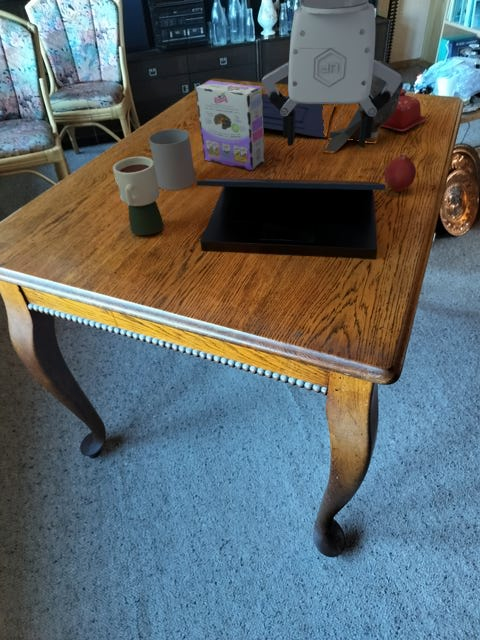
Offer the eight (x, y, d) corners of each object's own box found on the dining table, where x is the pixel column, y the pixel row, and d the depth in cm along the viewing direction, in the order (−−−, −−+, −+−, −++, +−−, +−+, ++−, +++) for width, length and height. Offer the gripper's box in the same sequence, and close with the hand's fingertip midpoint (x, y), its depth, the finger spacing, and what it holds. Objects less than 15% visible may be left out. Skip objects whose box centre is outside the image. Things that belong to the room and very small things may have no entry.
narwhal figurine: (389, 158, 106) (403, 71, 93) (322, 152, 110) (327, 68, 98) (395, 133, 115) (409, 52, 103) (334, 129, 120) (339, 51, 107)
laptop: (375, 259, 78) (377, 248, 76) (201, 250, 83) (200, 240, 81) (372, 195, 94) (373, 185, 92) (225, 191, 99) (224, 182, 97)
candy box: (265, 161, 108) (263, 85, 97) (252, 171, 105) (248, 94, 94) (217, 151, 114) (210, 78, 103) (203, 160, 111) (194, 86, 100)
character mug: (138, 215, 94) (123, 151, 85) (172, 215, 93) (160, 151, 84) (121, 245, 86) (102, 179, 77) (159, 246, 85) (144, 179, 76)
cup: (176, 194, 99) (169, 147, 92) (149, 184, 103) (140, 140, 96) (202, 178, 104) (197, 133, 97) (175, 170, 108) (168, 126, 101)
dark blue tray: (233, 99, 138) (234, 86, 136) (334, 114, 134) (337, 101, 131) (210, 131, 121) (210, 116, 118) (325, 149, 117) (327, 134, 114)
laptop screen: (385, 190, 72) (386, 184, 71) (196, 186, 77) (196, 180, 76) (373, 186, 92) (373, 181, 92) (224, 182, 97) (224, 178, 97)
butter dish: (363, 126, 120) (367, 90, 114) (389, 113, 126) (394, 79, 120) (402, 137, 114) (408, 100, 108) (428, 123, 119) (435, 87, 113)
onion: (385, 183, 97) (391, 145, 92) (413, 186, 95) (421, 148, 90) (379, 196, 93) (385, 157, 88) (409, 200, 91) (417, 160, 86)
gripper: (254, 2, 52) (259, 153, 63) (418, -5, 48) (392, 155, 60) (264, -10, 57) (267, 131, 69) (412, -17, 54) (390, 132, 65)
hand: (326, 142), depth 64 cm, fingers open, 9 cm apart
